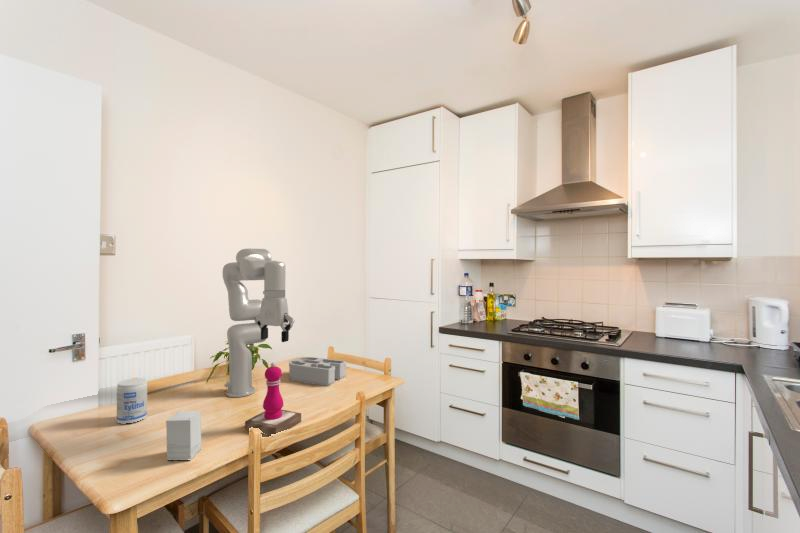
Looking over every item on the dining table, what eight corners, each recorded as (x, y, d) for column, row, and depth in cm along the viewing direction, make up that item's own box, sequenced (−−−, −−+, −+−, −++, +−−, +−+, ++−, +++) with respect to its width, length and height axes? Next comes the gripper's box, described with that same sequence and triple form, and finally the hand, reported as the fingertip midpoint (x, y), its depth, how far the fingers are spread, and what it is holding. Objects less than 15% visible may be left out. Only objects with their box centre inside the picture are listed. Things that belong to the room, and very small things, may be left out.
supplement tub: (124, 427, 140) (124, 387, 140) (111, 421, 145) (111, 383, 145) (152, 418, 149) (152, 380, 149) (139, 413, 154) (139, 376, 153)
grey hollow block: (328, 387, 186) (328, 369, 186) (282, 380, 197) (282, 363, 197) (346, 377, 202) (346, 361, 202) (302, 371, 213) (302, 355, 212)
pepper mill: (277, 421, 138) (277, 365, 138) (259, 419, 140) (259, 364, 139) (287, 413, 145) (287, 360, 145) (269, 411, 147) (269, 359, 146)
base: (244, 430, 139) (244, 420, 138) (271, 415, 151) (271, 407, 151) (276, 437, 133) (276, 427, 133) (301, 421, 146) (301, 412, 146)
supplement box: (202, 449, 125) (202, 410, 124) (190, 461, 117) (190, 420, 117) (178, 449, 124) (178, 410, 124) (165, 461, 117) (165, 420, 117)
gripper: (249, 294, 144) (249, 339, 144) (286, 296, 137) (286, 344, 137) (263, 292, 151) (263, 336, 151) (300, 294, 144) (299, 340, 144)
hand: (274, 340), depth 144 cm, fingers open, 9 cm apart
